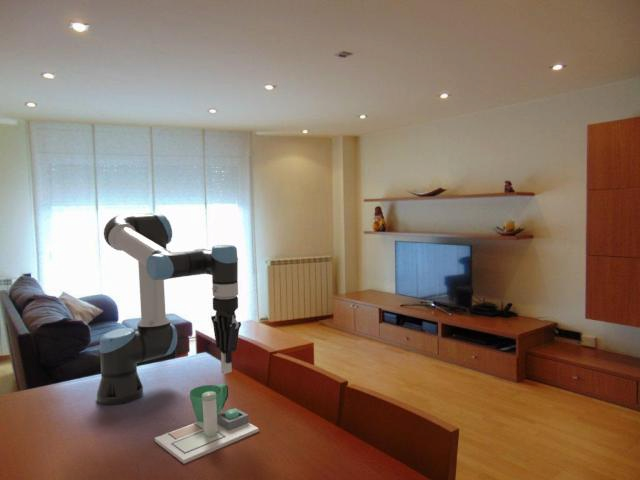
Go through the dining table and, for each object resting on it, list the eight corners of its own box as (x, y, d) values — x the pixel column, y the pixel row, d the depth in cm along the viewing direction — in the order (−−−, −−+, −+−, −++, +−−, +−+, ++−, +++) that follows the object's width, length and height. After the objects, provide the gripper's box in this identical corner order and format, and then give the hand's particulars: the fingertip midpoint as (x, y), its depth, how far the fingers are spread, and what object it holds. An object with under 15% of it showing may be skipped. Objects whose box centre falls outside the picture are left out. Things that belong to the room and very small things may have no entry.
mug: (208, 432, 138) (207, 399, 137) (183, 425, 142) (182, 393, 142) (239, 412, 151) (238, 382, 150) (215, 407, 155) (214, 378, 155)
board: (154, 441, 132) (154, 429, 132) (226, 414, 149) (226, 403, 149) (183, 463, 120) (183, 450, 120) (258, 431, 137) (258, 419, 137)
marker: (201, 435, 133) (199, 394, 132) (213, 430, 136) (211, 390, 135) (208, 439, 130) (206, 398, 129) (220, 434, 133) (218, 393, 132)
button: (222, 421, 140) (222, 412, 140) (234, 417, 143) (233, 407, 143) (230, 425, 138) (230, 416, 137) (241, 421, 140) (241, 411, 140)
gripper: (203, 295, 142) (204, 369, 144) (226, 301, 133) (227, 381, 135) (224, 291, 147) (225, 363, 150) (248, 298, 138) (249, 374, 140)
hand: (226, 372), depth 142 cm, fingers closed
